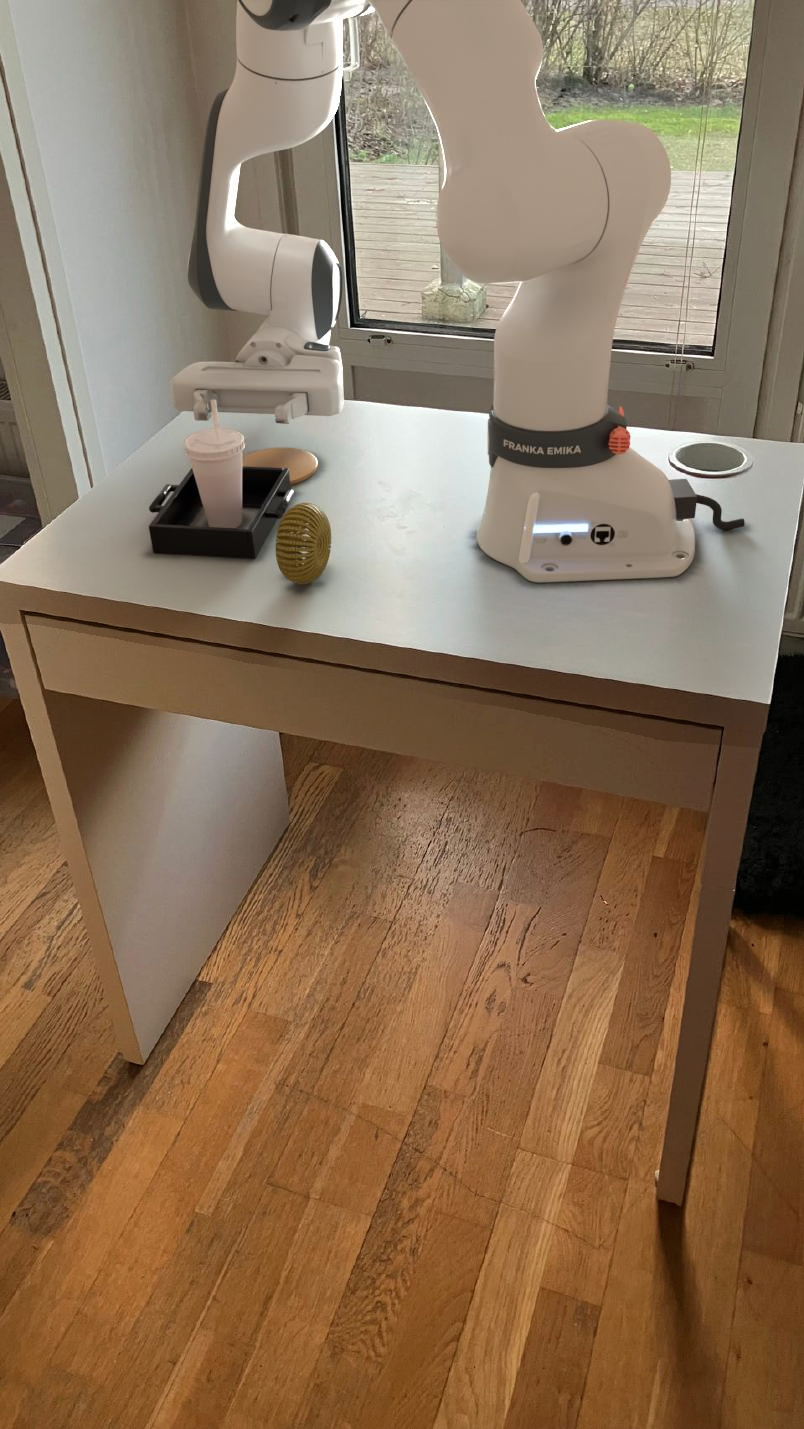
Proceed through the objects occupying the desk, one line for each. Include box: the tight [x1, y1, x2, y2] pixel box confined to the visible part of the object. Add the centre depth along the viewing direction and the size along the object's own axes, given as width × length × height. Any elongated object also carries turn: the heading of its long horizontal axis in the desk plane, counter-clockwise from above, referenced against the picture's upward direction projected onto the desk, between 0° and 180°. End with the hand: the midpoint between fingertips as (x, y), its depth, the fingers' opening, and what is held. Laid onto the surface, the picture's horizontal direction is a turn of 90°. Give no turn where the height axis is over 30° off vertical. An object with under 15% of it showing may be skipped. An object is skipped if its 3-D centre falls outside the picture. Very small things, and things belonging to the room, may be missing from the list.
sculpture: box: [275, 502, 332, 585], centre depth 117 cm, size 8×4×8 cm, turn 162°
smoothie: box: [183, 399, 246, 528], centre depth 126 cm, size 6×6×14 cm
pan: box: [148, 466, 295, 560], centre depth 129 cm, size 15×15×3 cm
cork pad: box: [242, 447, 319, 485], centre depth 141 cm, size 10×10×1 cm
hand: (240, 416), depth 132 cm, fingers open, 8 cm apart
